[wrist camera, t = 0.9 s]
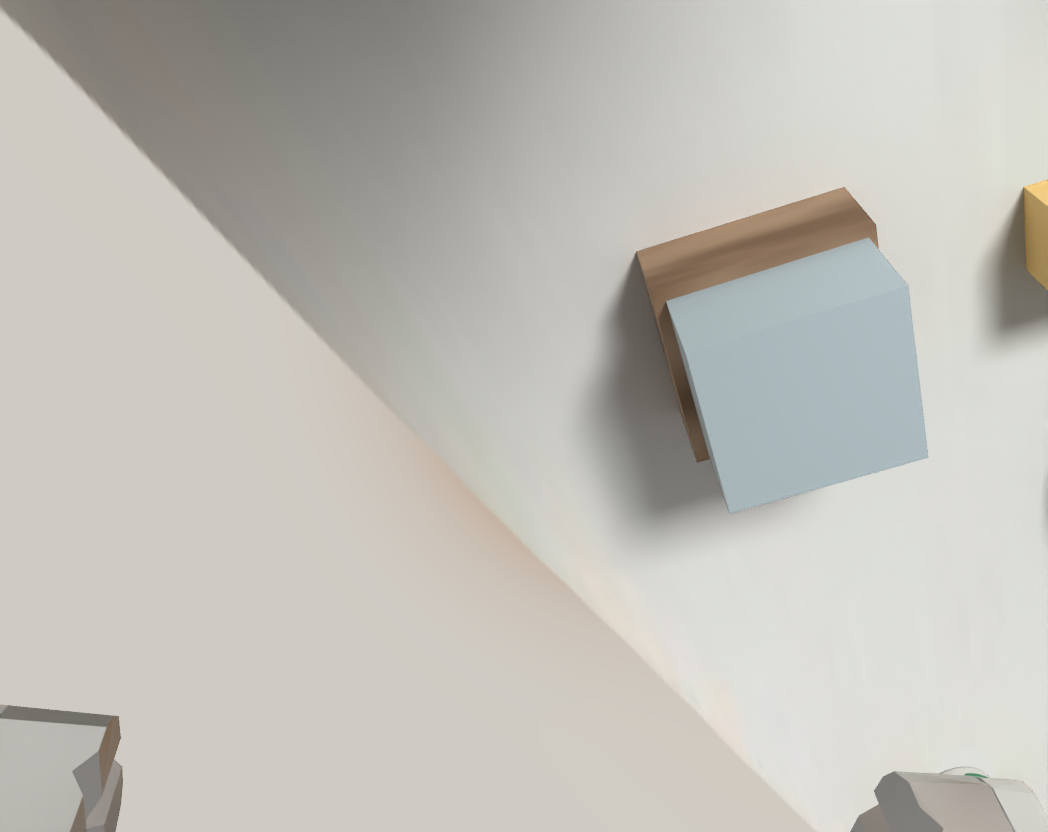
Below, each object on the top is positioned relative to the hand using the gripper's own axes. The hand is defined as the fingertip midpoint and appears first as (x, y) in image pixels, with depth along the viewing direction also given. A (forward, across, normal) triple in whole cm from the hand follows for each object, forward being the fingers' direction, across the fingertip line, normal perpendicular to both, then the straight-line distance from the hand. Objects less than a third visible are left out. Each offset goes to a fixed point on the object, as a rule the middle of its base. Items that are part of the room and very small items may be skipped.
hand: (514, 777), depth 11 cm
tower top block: (+37, -18, +14) cm, 43 cm away
